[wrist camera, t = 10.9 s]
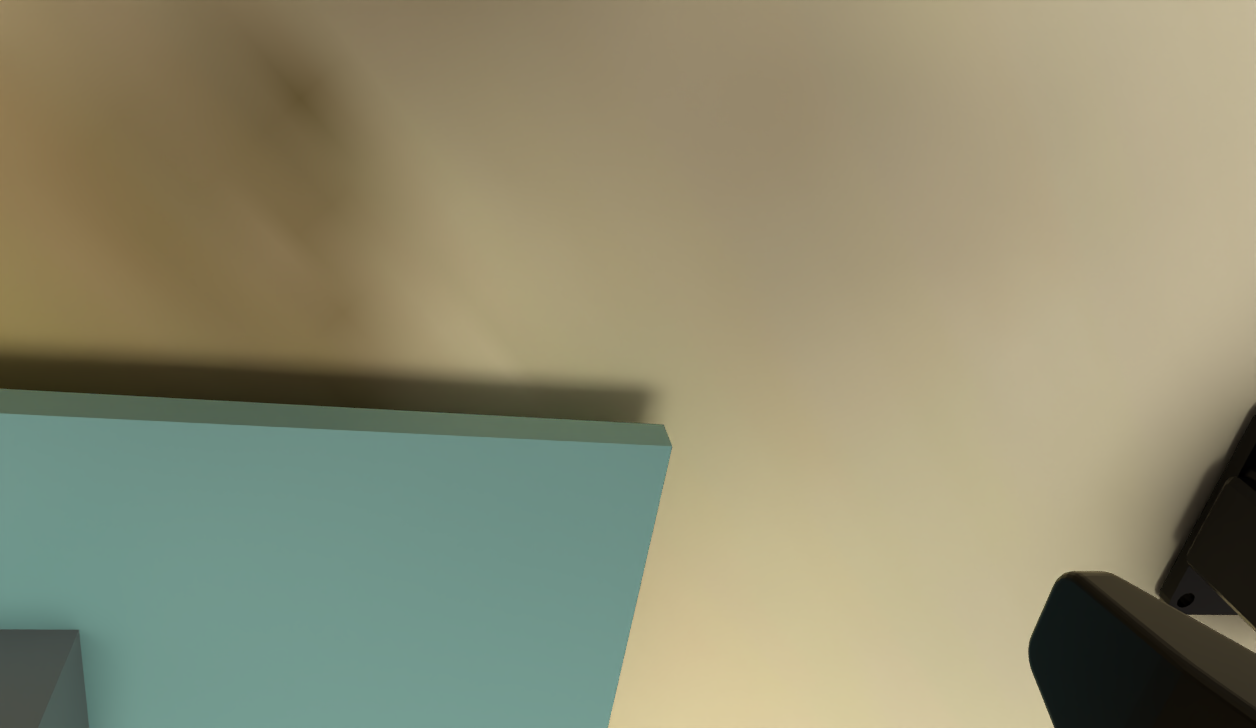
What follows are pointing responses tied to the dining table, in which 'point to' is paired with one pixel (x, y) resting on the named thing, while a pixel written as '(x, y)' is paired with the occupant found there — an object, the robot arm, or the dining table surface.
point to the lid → (315, 564)
